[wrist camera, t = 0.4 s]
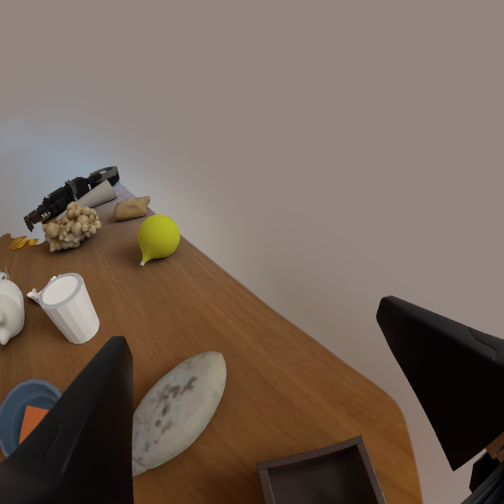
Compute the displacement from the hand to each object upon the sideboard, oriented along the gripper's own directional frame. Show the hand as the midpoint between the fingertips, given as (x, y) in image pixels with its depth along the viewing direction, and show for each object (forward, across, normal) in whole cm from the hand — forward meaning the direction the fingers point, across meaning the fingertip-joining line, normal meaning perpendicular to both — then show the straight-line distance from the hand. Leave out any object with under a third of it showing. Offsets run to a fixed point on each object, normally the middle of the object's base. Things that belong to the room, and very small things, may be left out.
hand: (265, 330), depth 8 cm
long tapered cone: (+62, +42, +15) cm, 76 cm away
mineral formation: (+46, +28, +14) cm, 56 cm away
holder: (-4, -4, +18) cm, 18 cm away
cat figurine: (+22, +34, +17) cm, 44 cm away
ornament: (+37, +6, +8) cm, 38 cm away
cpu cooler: (+83, +34, +7) cm, 90 cm away
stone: (+52, +16, +10) cm, 55 cm away
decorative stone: (+7, +6, +17) cm, 20 cm away
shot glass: (+21, +19, +16) cm, 33 cm away
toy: (+62, +54, +11) cm, 83 cm away
